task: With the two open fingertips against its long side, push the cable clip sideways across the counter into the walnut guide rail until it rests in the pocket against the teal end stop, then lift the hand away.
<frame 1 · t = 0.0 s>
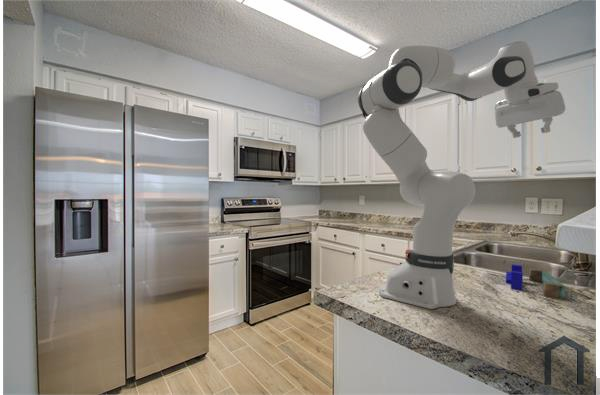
hand: (531, 135, 95), 52 cm above the countertop, tool tilted 20°, fingers open, 8 cm apart
rail: (538, 287, 98), on the countertop
cable clip: (513, 285, 101), on the countertop
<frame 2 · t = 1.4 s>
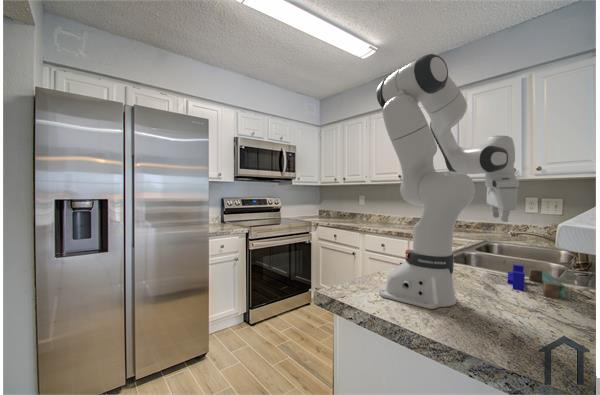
hand: (499, 219, 104), 23 cm above the countertop, tool pointing down, fingers open, 8 cm apart
nothing on the countertop moved.
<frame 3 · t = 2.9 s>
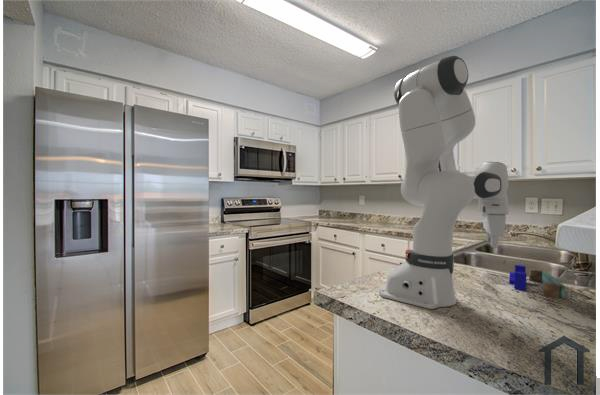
hand: (492, 244, 104), 13 cm above the countertop, tool pointing down, fingers open, 8 cm apart
nothing on the countertop moved.
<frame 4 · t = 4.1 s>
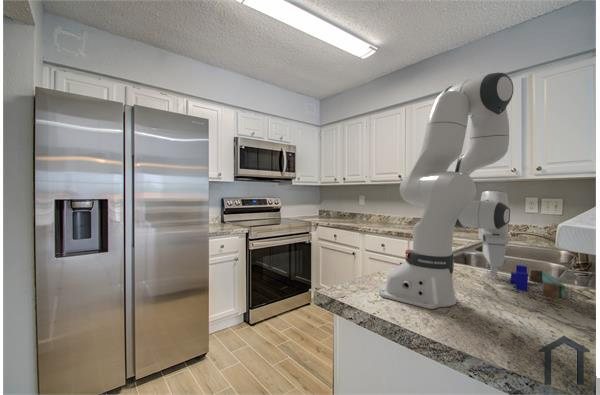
hand: (491, 272, 104), 3 cm above the countertop, tool pointing down, fingers open, 8 cm apart
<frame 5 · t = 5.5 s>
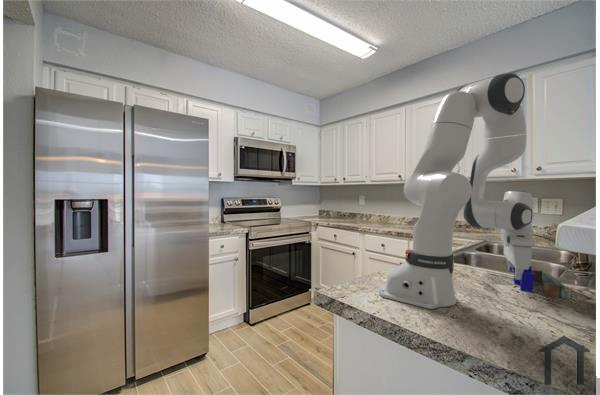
hand: (514, 275, 101), 3 cm above the countertop, tool pointing down, fingers open, 8 cm apart
cable clip: (522, 286, 100), on the countertop, touching gripper
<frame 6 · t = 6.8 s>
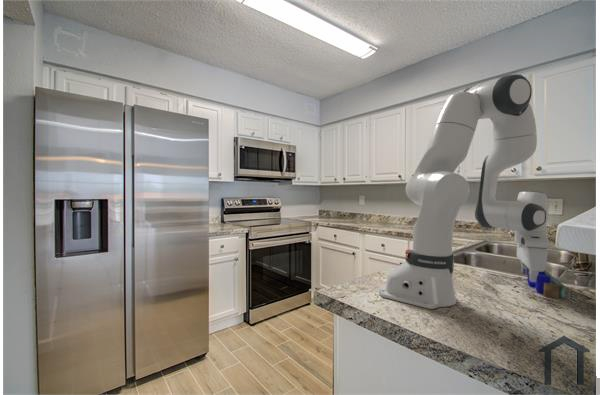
hand: (528, 277, 99), 3 cm above the countertop, tool pointing down, fingers open, 8 cm apart
cable clip: (537, 288, 98), on the countertop, touching rail
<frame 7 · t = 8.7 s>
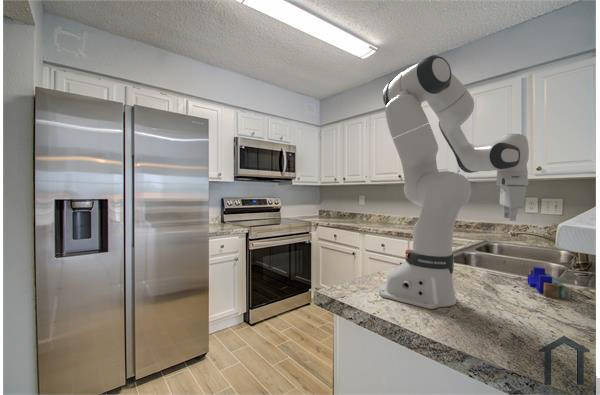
hand: (509, 219, 102), 23 cm above the countertop, tool pointing down, fingers open, 8 cm apart
cable clip: (538, 289, 98), on the countertop
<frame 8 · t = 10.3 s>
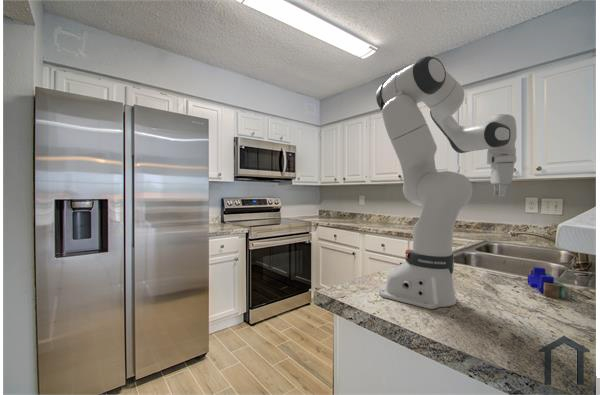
hand: (499, 195, 108), 31 cm above the countertop, tool pointing down, fingers open, 8 cm apart
nothing on the countertop moved.
at the end: cable clip inside the target area (0.8 cm from its centre), on the countertop; cable clip tilted 0°; cable clip moved 7.2 cm from its start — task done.
